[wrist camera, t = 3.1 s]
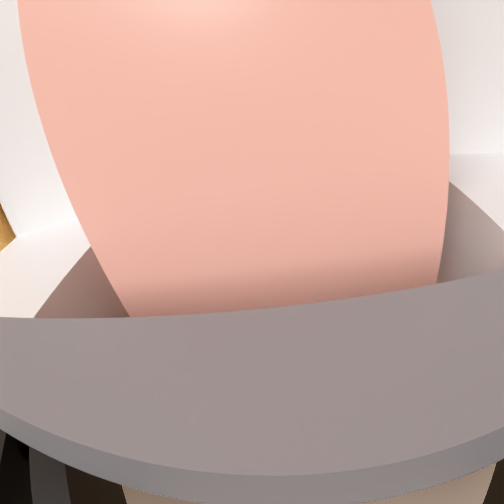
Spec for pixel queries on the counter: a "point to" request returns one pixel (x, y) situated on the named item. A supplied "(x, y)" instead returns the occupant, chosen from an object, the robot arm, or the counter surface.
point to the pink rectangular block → (246, 145)
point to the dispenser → (262, 334)
